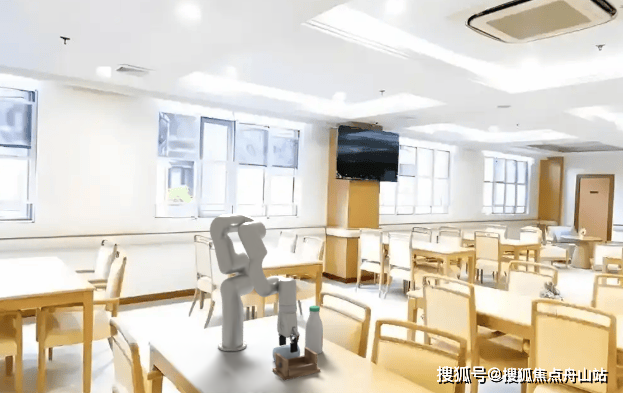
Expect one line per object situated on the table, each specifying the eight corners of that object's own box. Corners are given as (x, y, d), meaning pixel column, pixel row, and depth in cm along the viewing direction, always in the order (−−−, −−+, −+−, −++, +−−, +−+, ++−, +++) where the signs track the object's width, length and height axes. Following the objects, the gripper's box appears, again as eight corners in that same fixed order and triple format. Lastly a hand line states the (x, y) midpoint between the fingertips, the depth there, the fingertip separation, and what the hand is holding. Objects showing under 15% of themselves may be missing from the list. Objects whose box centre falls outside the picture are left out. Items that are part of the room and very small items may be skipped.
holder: (272, 370, 172) (272, 353, 172) (307, 362, 180) (307, 346, 180) (284, 380, 163) (284, 362, 163) (320, 371, 172) (320, 354, 172)
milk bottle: (320, 355, 188) (321, 309, 188) (303, 353, 190) (304, 308, 189) (323, 349, 196) (324, 305, 195) (307, 347, 197) (307, 303, 197)
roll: (278, 365, 178) (278, 350, 178) (271, 359, 183) (272, 345, 183) (300, 360, 183) (300, 346, 183) (293, 355, 188) (293, 341, 188)
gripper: (270, 304, 188) (270, 344, 188) (289, 314, 173) (290, 356, 173) (285, 302, 192) (286, 341, 192) (306, 311, 177) (306, 353, 177)
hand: (288, 348), depth 183 cm, fingers open, 9 cm apart
